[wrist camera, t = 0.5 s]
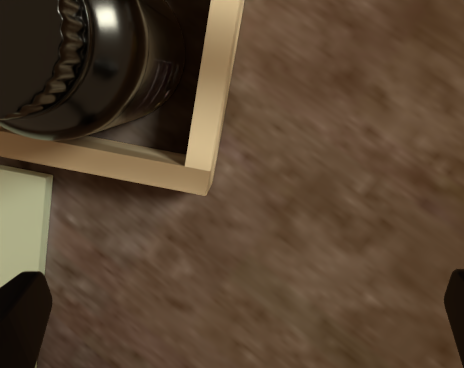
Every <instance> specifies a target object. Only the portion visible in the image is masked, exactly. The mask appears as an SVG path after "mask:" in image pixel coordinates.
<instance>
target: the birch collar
mask: <svg viewBox="0 0 464 368" xmlns="http://www.w3.org/2000/svg"><path fill="white" fill-rule="evenodd" d="M244 1H245V0H211V3H210V10H209V16H208V22H207V29H206V35H205V41H204V48H203V54H202V60H201V67H200V73H199V79H198V85H197V92H196V98H195V104H194V111H193V117H192V123H191V130H190V136H189V142H188V149H187V155H186V154H180V153H175V152H170V151H165V150H159V149H154V148H149V147H144V146H138V145H133V144H128V143H123V142H117V141H112V140H107V139H102V138H96V137H91V136H83V137H79V138H74V139H68V140H59V141H46V140H38V139H33V138H29V137H25V136H22V135H19V134H16V133H13V132H11V131H9V130H7V129H5V128H3V127H1V126H0V156H1V157H6V158H11V159H16V160H22V161H27V162H32V163H37V164H42V165H48V166H53V167H58V168H63V169H68V170H74V171H79V172H84V173H89V174H94V175H100V176H105V177H110V178H115V179H120V180H126V181H131V182H136V183H141V184H146V185H152V186H157V187H162V188H167V189H172V190H178V191H183V192H188V193H193V194H198V195H204V196H206V195H207V193H208V191H209V189H210V187H211V185H212V183H213V178H214V172H215V166H216V161H217V155H218V149H219V143H220V138H221V132H222V126H223V121H224V115H225V109H226V104H227V98H228V92H229V86H230V81H231V75H232V69H233V64H234V58H235V52H236V46H237V41H238V35H239V29H240V24H241V18H242V12H243V6H244Z"/></svg>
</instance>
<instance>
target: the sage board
mask: <svg viewBox="0 0 464 368" xmlns="http://www.w3.org/2000/svg"><path fill="white" fill-rule="evenodd" d="M52 182H53V175H51V174H46V173H40V172H35V171H30V170H25V169H20V168H14V167H9V166H4V165H0V287H2V286H3V285H4V284H6V283H7V282H8V281H10V280H11V279H13V278H14V277H15V276H17V275H18V274H20V273H21V272H24V271H40V272H42V273H43V274H44V275H45V263H46V252H47V240H48V229H49V217H50V205H51V194H52ZM35 368H37V362H36V365H35Z"/></svg>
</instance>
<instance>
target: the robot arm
mask: <svg viewBox="0 0 464 368" xmlns="http://www.w3.org/2000/svg"><path fill="white" fill-rule="evenodd" d="M444 305H445V309H446V312H447V315H448V319H449V322H450V325H451V329H452V332H453V335H454V339H455V342H456V345H457V349H458V352H459V355H460V359H461V362H462V365H463V368H464V269H456V270H454V271H453V272H452V274H451V277H450V280H449V283H448V286H447V289H446V292H445V296H444ZM51 308H52V295H51V293H50V290H49V287H48V284H47V281H46V279H45V276H44V274H43V273H42V272H40V271H24V272H21V273H20V274H18V275H17V276H15V277H14V278H13V279H11V280H10V281H8V282H7V283H6V284H4V285H3V286H2V287H0V368H35V365H36V362H37V359H38V355H39V352H40V348H41V344H42V341H43V337H44V334H45V330H46V326H47V323H48V319H49V316H50V312H51Z"/></svg>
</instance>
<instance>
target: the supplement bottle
mask: <svg viewBox="0 0 464 368" xmlns="http://www.w3.org/2000/svg"><path fill="white" fill-rule="evenodd" d="M184 62H185V45H184V39H183V34H182V31H181V28H180V25H179V22H178V20H177V18H176V16H175V15H174V13H173V11H172V10H171V8H170V7H169V6H168V4H167V3H166V2H165V1H164V0H0V126H1V127H3V128H5V129H7V130H9V131H11V132H13V133H16V134H19V135H22V136H25V137H29V138H33V139H38V140H46V141H59V140H68V139H74V138H79V137H83V136H86V135H90V134H93V133H96V132H99V131H102V130H105V129H108V128H111V127H114V126H117V125H120V124H123V123H126V122H129V121H132V120H135V119H138V118H140V117H143V116H145V115H148V114H149V113H151V112H153V111H155V110H156V109H158V108H159V107H160V106H161V105H163V104H164V103H165V102H166V101H167V100H168V99H169V97H170V96H171V95H172V94H173V92H174V91H175V89H176V87H177V85H178V83H179V81H180V78H181V76H182V72H183V68H184Z"/></svg>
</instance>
